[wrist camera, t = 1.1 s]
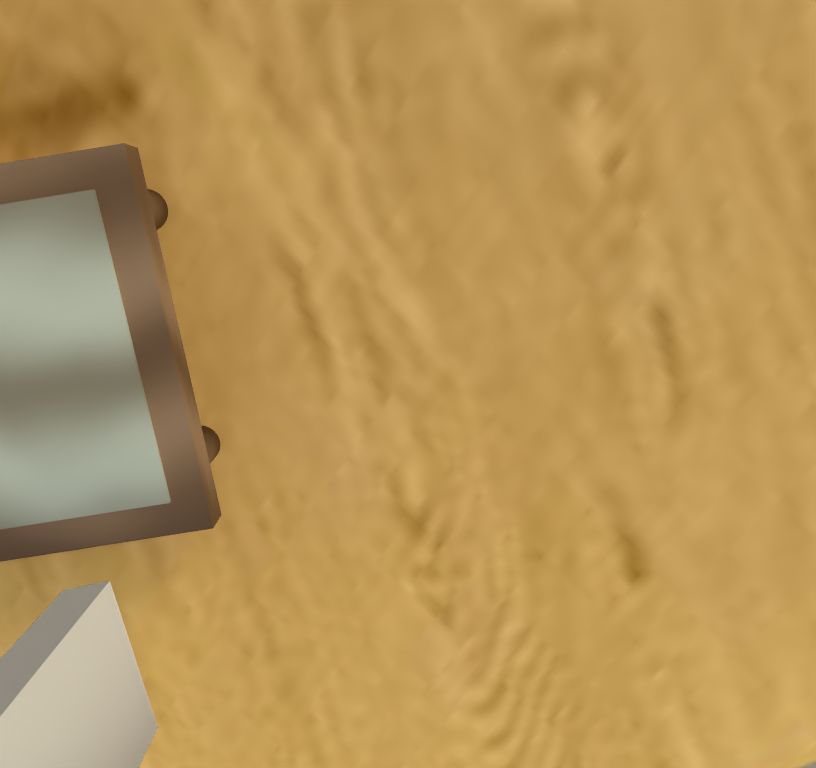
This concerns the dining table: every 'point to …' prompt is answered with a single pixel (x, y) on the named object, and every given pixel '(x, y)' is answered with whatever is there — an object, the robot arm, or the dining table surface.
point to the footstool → (92, 363)
